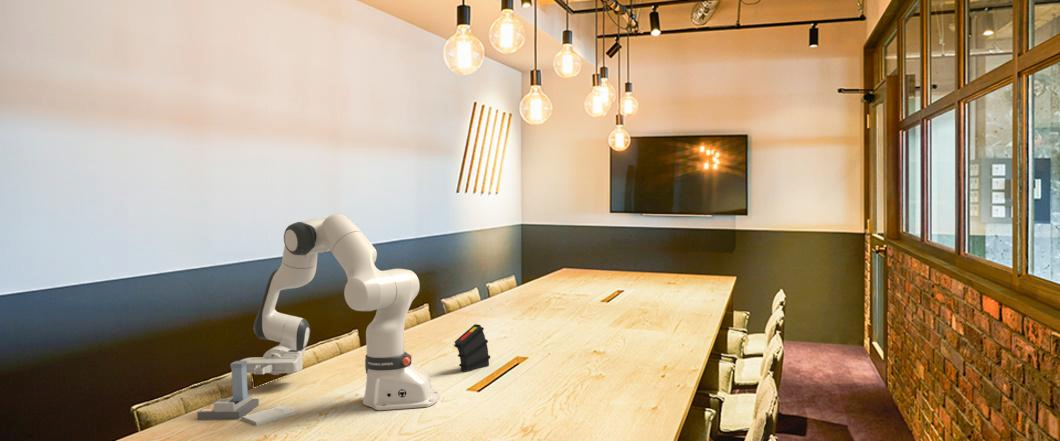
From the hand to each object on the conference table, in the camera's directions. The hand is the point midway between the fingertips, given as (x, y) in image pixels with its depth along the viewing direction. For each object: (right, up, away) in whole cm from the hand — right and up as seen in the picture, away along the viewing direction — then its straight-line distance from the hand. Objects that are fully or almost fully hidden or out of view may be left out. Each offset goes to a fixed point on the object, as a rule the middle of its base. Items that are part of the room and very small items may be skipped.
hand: (258, 371), depth 209 cm
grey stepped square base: (-2, -8, -16) cm, 18 cm away
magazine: (+65, -5, +25) cm, 70 cm away
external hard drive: (+12, -9, -20) cm, 25 cm away
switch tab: (0, -6, -12) cm, 13 cm away
